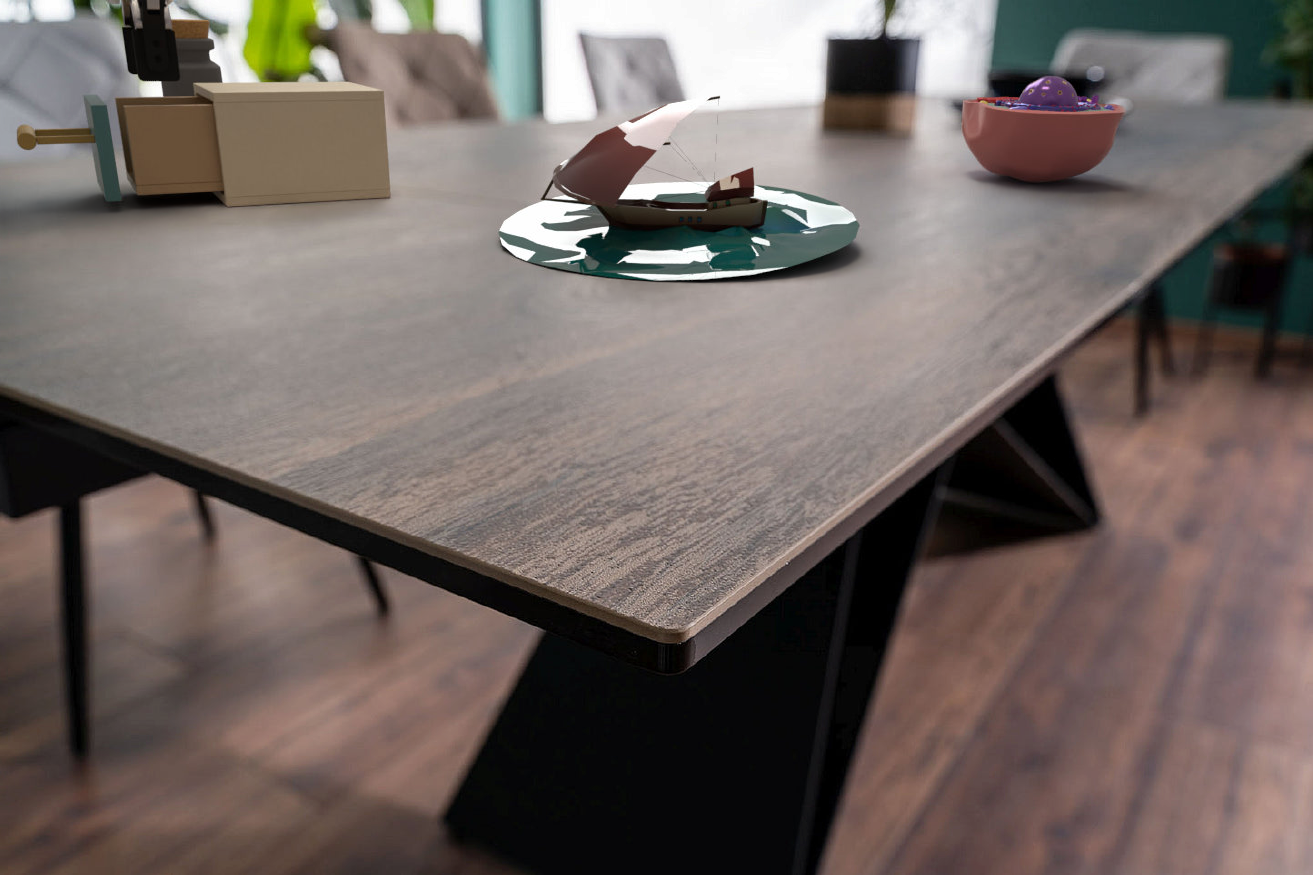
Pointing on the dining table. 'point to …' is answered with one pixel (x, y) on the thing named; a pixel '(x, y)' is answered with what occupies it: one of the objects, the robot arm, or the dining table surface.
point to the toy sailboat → (669, 215)
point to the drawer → (146, 144)
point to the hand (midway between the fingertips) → (153, 77)
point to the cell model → (1040, 131)
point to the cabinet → (299, 141)
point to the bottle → (192, 58)
